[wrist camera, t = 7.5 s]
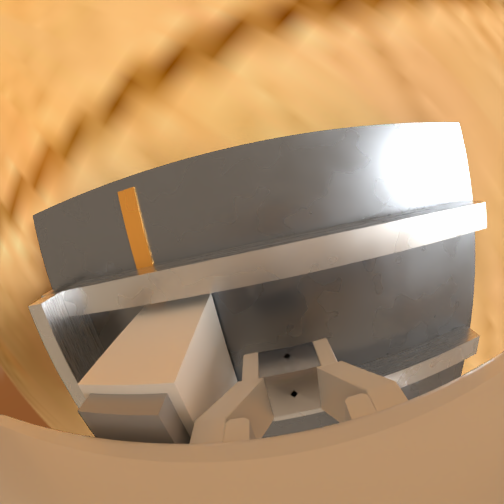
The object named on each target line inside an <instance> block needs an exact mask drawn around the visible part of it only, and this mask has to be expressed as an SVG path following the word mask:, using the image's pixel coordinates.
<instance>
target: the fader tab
mask: <svg viewBox="0 0 504 504" xmlns="http://www.w3.org/2000/svg"><path fill="white" fill-rule="evenodd" d="M237 382H238V381H237V378H236V375H235V372H234V369H233V365H232V362H231V359H230V356H229V353H228V349H227V346H226V343H225V339H224V336H223V333H222V329H221V326H220V322H219V319H218V316H217V312H216V309H215V305H214V302H213V298H212V294H211V293H209V294H204V295H199V296H193V297H188V298H182V299H177V300H171V301H165V302H159V303H154V304H148V305H145V306H144V308H143V309H142V310H141V311H140V312H139V313H138V314H137V315H136V317H135V318H134V319H133V320H132V321H131V322H130V323H129V324H128V326H127V327H126V328H125V329H124V330H123V331H122V332H121V334H120V335H119V336H118V337H117V338H116V339H115V340H114V342H113V343H112V344H111V345H110V346H109V347H108V349H107V350H106V351H105V352H104V353H103V354H102V356H101V357H100V358H99V359H98V360H97V362H96V363H95V364H94V365H93V366H92V367H91V369H90V370H89V371H88V372H87V373H86V375H85V376H84V377H83V378H82V380H81V381H80V382H79V383H78V386H79V388H80V389H81V391H82V393H83V395H84V396H85V398H86V400H85V401H84V403H83V404H82V405H81V407H80V408H79V410H78V413H79V414H80V416H81V417H82V419H83V420H84V422H85V423H86V424H87V426H88V427H89V429H90V430H91V431H92V433H93V434H94V436H95V437H96V438H103V439H111V440H120V441H130V442H144V443H168V444H189V443H190V439H191V435H192V431H193V427H194V423H195V420H196V419H198V418H199V417H200V416H201V415H202V414H203V413H204V412H206V411H207V410H208V409H209V408H210V407H211V406H212V405H213V404H214V403H216V402H217V401H218V400H219V399H220V398H221V397H222V396H223V395H224V394H225V393H226V392H227V391H229V390H230V389H231V388H232V387H233V386H234V385H235V384H236V383H237Z"/></svg>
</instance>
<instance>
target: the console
mask: <svg viewBox="0 0 504 504" xmlns="http://www.w3.org/2000/svg"><path fill="white" fill-rule="evenodd" d="M33 219H34V224H35V229H36V233H37V237H38V241H39V245H40V249H41V253H42V257H43V260H44V264H45V267H46V271H47V274H48V277H49V280H50V283H51V286H52V290H51V291H49V292H47V293H45V294H44V295H42V296H41V299H39V300H37V301H36V302H34V303H32V304H31V305H29V306H28V307H29V310H30V313H31V315H32V318H33V320H34V323H35V325H36V328H37V330H38V332H39V335H40V337H41V339H42V341H43V344H44V346H45V348H46V350H47V352H48V354H49V356H50V358H51V360H52V362H53V364H54V366H55V368H56V370H57V372H58V374H59V375H60V377H61V379H62V381H63V383H64V384H65V386H66V388H67V390H68V391H69V393H70V395H71V396H72V398H73V400H74V401H75V403H76V405H77V406H78V408H80V407H81V405H82V404H83V403H84V401H85V400H86V398H85V396H84V395H83V393H82V391H81V389H80V388H79V386H78V383H79V382H80V381H81V380H82V378H83V377H84V376H85V375H86V373H87V372H88V371H89V370H90V369H91V367H92V366H93V365H94V364H95V363H96V362H97V360H98V359H99V358H100V357H101V356H102V354H103V353H104V352H105V351H106V350H107V349H108V347H109V346H110V345H111V344H112V343H113V342H114V340H115V339H116V338H117V337H118V336H119V335H120V334H121V332H122V331H123V330H124V329H125V328H126V327H127V326H128V324H129V323H130V322H131V321H132V320H133V319H134V318H135V317H136V315H137V314H138V313H139V312H140V311H141V310H142V309H143V308H144V306H145V305H148V304H154V303H159V302H165V301H171V300H177V299H182V298H188V297H193V296H199V295H204V294H209V293H211V294H212V298H213V302H214V305H215V309H216V312H217V316H218V319H219V322H220V326H221V329H222V333H223V336H224V339H225V343H226V346H227V349H228V353H229V356H230V359H231V362H232V365H233V369H234V372H235V375H236V378H237V381H238V382H239V381H242V370H243V356H244V355H245V354H250V353H255V352H258V353H259V352H262V351H269V350H274V349H280V348H286V347H292V346H296V345H300V344H304V343H308V342H312V341H316V340H320V339H323V338H326V339H327V340H328V342H329V344H330V346H331V348H332V350H333V353H334V355H335V357H336V359H337V361H338V362H339V361H343V362H346V363H348V364H351V365H354V366H356V367H359V368H361V369H364V370H367V371H369V372H372V373H374V374H377V375H380V376H383V377H385V378H388V379H391V380H394V381H396V383H397V384H398V386H399V387H400V389H401V390H402V392H403V393H404V395H405V396H406V398H407V399H408V400H410V399H413V398H415V397H418V396H420V395H422V394H425V393H427V392H429V391H431V390H434V389H436V388H438V387H440V386H442V385H444V384H446V383H448V382H450V381H452V380H454V379H456V378H458V377H460V376H461V373H462V368H463V364H464V360H465V359H467V358H469V357H470V356H472V355H474V354H476V352H477V347H478V342H479V335H478V334H477V333H476V332H474V331H473V330H472V329H470V323H471V315H472V305H473V294H474V278H475V231H478V230H482V229H485V228H487V218H486V204H485V202H480V201H473V200H472V191H471V183H470V175H469V169H468V163H467V157H466V152H465V147H464V142H463V137H462V133H461V128H460V124H459V123H448V122H433V123H400V124H383V125H370V126H359V127H349V128H341V129H332V130H325V131H317V132H310V133H304V134H297V135H291V136H285V137H280V138H274V139H269V140H264V141H259V142H254V143H249V144H244V145H240V146H235V147H231V148H227V149H222V150H218V151H214V152H210V153H206V154H202V155H199V156H195V157H191V158H187V159H184V160H180V161H177V162H173V163H170V164H166V165H163V166H160V167H157V168H153V169H150V170H147V171H144V172H141V173H138V174H135V175H132V176H129V177H126V178H123V179H120V180H118V181H115V182H112V183H109V184H107V185H104V186H101V187H99V188H96V189H93V190H91V191H88V192H86V193H83V194H81V195H78V196H76V197H73V198H71V199H69V200H66V201H64V202H62V203H59V204H57V205H55V206H53V207H50V208H48V209H46V210H44V211H42V212H39V213H37V214H35V215H33ZM337 423H340V422H339V421H337V420H336V419H334V418H333V417H332V416H330V415H329V414H328V413H326V412H325V411H324V410H322V409H321V408H319V409H314V410H309V411H304V412H298V413H293V414H289V415H284V416H279V417H274V420H273V421H272V423H271V424H270V426H269V427H268V429H267V431H266V432H265V434H264V435H263V437H262V438H267V437H274V436H280V435H286V434H292V433H297V432H302V431H307V430H312V429H317V428H321V427H325V426H329V425H333V424H337Z"/></svg>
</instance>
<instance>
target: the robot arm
mask: <svg viewBox="0 0 504 504" xmlns="http://www.w3.org/2000/svg"><path fill="white" fill-rule="evenodd" d="M319 408H321V409H322V410H324V411H325V412H326V413H328V414H329V415H330V416H332V417H333V418H334V419H336V420H337V421H339V422H340V423H337V424H333V425H329V426H325V427H321V428H317V429H312V430H307V431H302V432H297V433H292V434H286V435H280V436H274V437H267V438H262V437H263V435H264V434H265V432H266V431H267V429H268V427H269V426H270V424H271V423H272V421H273V420H274V417H279V416H284V415H289V414H293V413H298V412H304V411H309V410H314V409H319ZM0 504H504V351H503V352H502V353H500V354H499V355H497V356H495V357H494V358H492V359H491V360H489V361H487V362H486V363H484V364H482V365H480V366H479V367H477V368H475V369H473V370H472V371H470V372H468V373H466V374H464V375H462V376H460V377H458V378H456V379H454V380H452V381H450V382H448V383H446V384H444V385H442V386H440V387H438V388H436V389H434V390H431V391H429V392H427V393H425V394H422V395H420V396H418V397H415V398H413V399H410V400H408V399H407V398H406V396H405V395H404V393H403V392H402V390H401V389H400V387H399V386H398V384H397V383H396V381H394V380H391V379H388V378H385V377H383V376H380V375H377V374H374V373H372V372H369V371H367V370H364V369H361V368H359V367H356V366H354V365H351V364H348V363H346V362H343V361H339V362H338V361H337V359H336V357H335V355H334V353H333V350H332V348H331V346H330V344H329V342H328V340H327V339H326V338H323V339H320V340H316V341H312V342H308V343H304V344H300V345H296V346H292V347H286V348H280V349H274V350H269V351H262V352H259V353H258V352H255V353H250V354H245V355H244V356H243V370H242V381H239V382H237V383H236V384H235V385H234V386H233V387H232V388H231V389H230V390H229V391H227V392H226V393H225V394H224V395H223V396H222V397H221V398H220V399H219V400H218V401H217V402H216V403H214V404H213V405H212V406H211V407H210V408H209V409H208V410H207V411H206V412H204V413H203V414H202V415H201V416H200V417H199V418H198V419H196V420H195V423H194V427H193V431H192V435H191V439H190V443H189V444H168V443H144V442H130V441H120V440H111V439H103V438H96V437H90V436H84V435H78V434H73V433H68V432H63V431H59V430H54V429H50V428H46V427H42V426H38V425H35V424H31V423H27V422H25V421H21V420H18V419H15V418H12V417H9V416H6V415H0Z"/></svg>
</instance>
